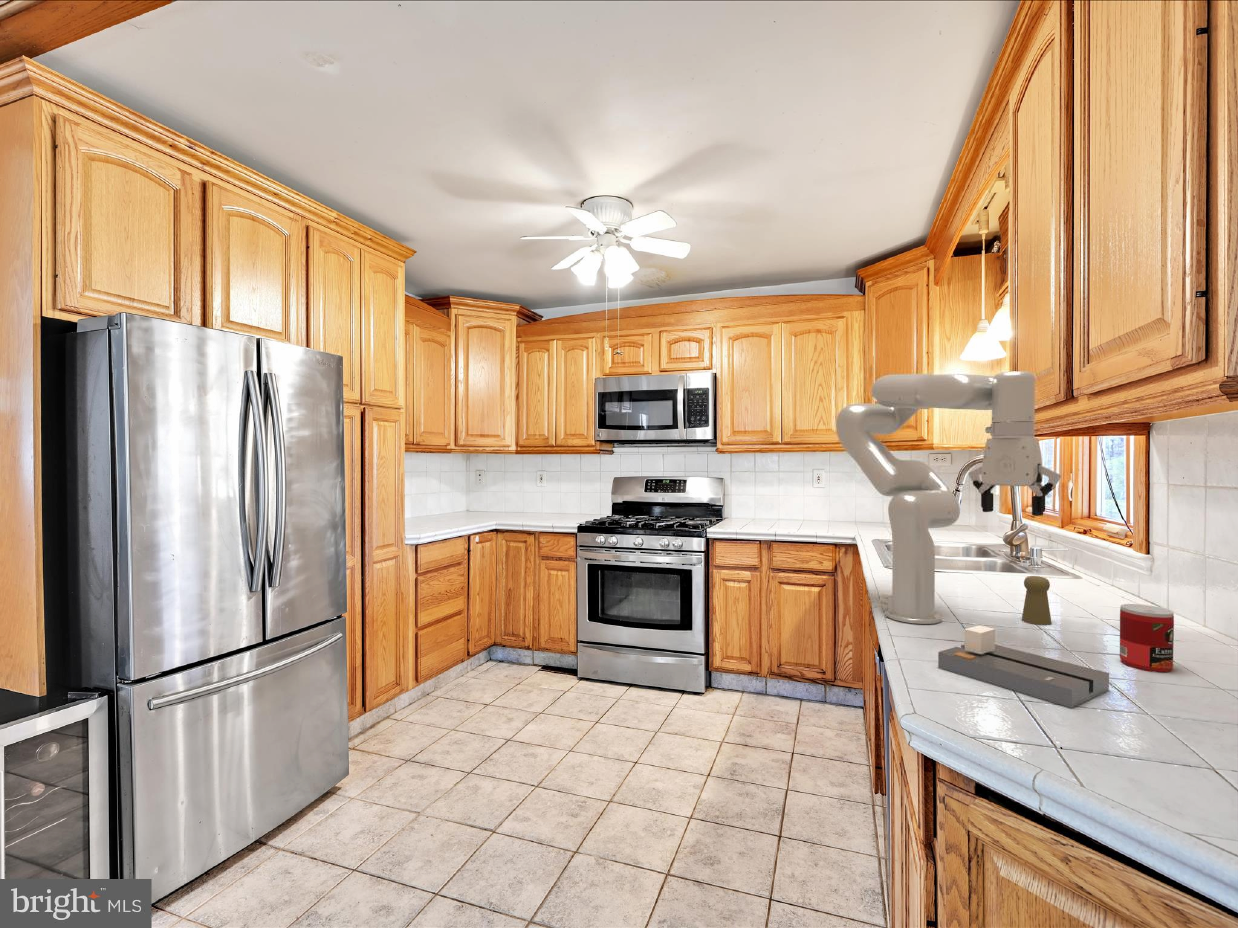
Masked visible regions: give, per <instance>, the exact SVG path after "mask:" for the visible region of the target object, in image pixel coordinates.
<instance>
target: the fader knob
mask: <svg viewBox="0 0 1238 928" xmlns="http://www.w3.org/2000/svg"><path fill="white" fill-rule="evenodd" d="M964 644H965V650H966V651H970V652H974V653H978V654H984V653H987V652H990V651H993V650H995V645H996V629H995V628H993V627H988V626H984V625H976V626H971V627H968V628H965V629H964Z"/></svg>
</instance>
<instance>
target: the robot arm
mask: <svg viewBox="0 0 1238 928" xmlns="http://www.w3.org/2000/svg"><path fill="white" fill-rule="evenodd" d="M870 393H871V396H872V398H873V400H874V401H875V402H876V403H861V402H860V403H854V404H849V405H846V406H844V407H843V408H842V409H841V410H840V411H839V412H838V414H837V417H836V423H835V427H836V428H835V429H836V435H837V438H838V440H839V443H840V445H841V446H842V447H843V449H844V450H845V452H847V454H848V455H849V456H850V457H851V458H852V460H854V461H855V462H856V464H857V465H858V466H859V468H860V469H861V471H862V472H863V474H864V476H866V477H867V479H868V481H870V483H871V484H872V486H873V487H874V489H875V490H876V491H877V492H878V493H879V494H880V495H882V496H884V497H891V499H890V501H889V503H888V505H887V506H888V508H887V511H888V513H887V514H888V519H889V523H890V529H891V531H890V532H891V540H892V541H891V542H892V545H891V546H892V548H891V549H892V551H891V553H892V560H891V561H892V564H891V565H892V566H891V568H892V569H891V570H892V571H891V574H892V575H891V576H892V577H891V578H892V580H891V583H892V585H891V586H892V587H891V588H892V590H891V592H892V593H891V596H890V595H886V594H882V595H881V596H880V598H879V603H880V604H883V605H887V606H888V607H887V608H886V609H885V611H884V612H885V616H886V617H887V618H889V619H891V620H894V621H898V622H902V623H907V624H908V623H909V624H916V625H933V624H938V623H941V622H942V615H941V614H940V613H938V612H937V611H935V610H936V608H935V605H936V603H935V602H936V600H935V598H936V595H935V594H936V593H935V592H936V590H935V588H936V587H935V586H936V585H935V584H936V582H935V581H936V577H935V576H936V575H935V574H936V550H935V548H936V547H935V543H934V540H933V538H932V535H931V533H930V531H929V529H940V528H947V527H950V526H952V525H954V524H955V523H956V522H957V521H958V520H959V518H960V514H961V507H960V503H959V502H958V499H957V498H956V496H955V494H954V493H953V492H952V490H951V489H950V488H949V487H948V486H947V485H946V484H945V482H944V481H943V480H942V479H941V477H940V475H938V474H937V473H936V472H935V470H933V469H932V467H931V466H930V465H929V464H926V463H925V462H924V461H923V462H922V461H920V460H915V459H910V460H909V459H899V458H897V457H896V456H894V454H893V453H892V452H891V451H890V450H889V449H888V447H887V446H886V445H885V444H884V443H883V442H882V441H880V439H879V440H878V438H876V437H874V436H873V435H875V436H876V435H878V436H879V435H881V436H886V435H891V434H894V433H896V432H897V431H899V430H900V429H901V428H902V427H903V426H904V425H905V424H906V423H907V422H908V421H909V420H910V419H911V418H912V417H913V416H915V415H916V413H917V412H919V410H929V409H933V408H934V409H948V410H949V409H950V410H975V411H991V423H990V426H986V427H985V429H984V430H985V433H986V434H990V436H991V438H987V439H986V441H985V446H984V450H983V457H982V465H981V466H980V467H978V468H976V469H974V470H972V471H970V472H969V473H968V476H969V478H970V481H971V482H972V485H973V487H975V488H976V490H978V493H980V507H981V508H982V509H981V510H982V513H992V512H993V511H994V493H993V492H992V490H993V489H995V487H997V486H1002V487H1003V486H1005V487H1008V486H1009V487H1028V488H1029V489H1030V490H1031V492H1032V493H1034V495H1033V496H1032V497H1031V515H1032V516H1034V517H1040V516H1043V515H1044V512H1046V497H1047V496H1048V495H1049V493H1050V492H1052V491H1053V490H1054V489H1055V488H1056V486H1057V484H1058V483H1059V482H1060V479H1061V478H1062V475H1061V474H1060V473H1058V472H1056V471H1054V470H1052V469H1050V468H1047V467H1046V466H1043V459H1042V458H1043V457H1042V450H1041V446H1040V443H1039V437H1035V425H1036V424H1035V422H1036V421H1035V419H1036V418H1035V416H1036V415H1035V414H1036V412H1035V409H1036V407H1035V406H1036V402H1035V401H1036V400H1035V397H1036V394H1035V393H1036V377H1035V375H1034V373H1032V372H1030V371H1026V370H1025V371H1024V370H1017V371H1004V372H999V373H996V374H995V375H981V374H980V375H978V374H958V373H957V374H955V373H954V374H952V373H951V374H950V373H949V374H932V373H905V374H903V373H900V374H886V375H883V376H881V377H878V378H877V379H876V380H875V381H874V383H873V384H872V386H871V392H870ZM980 476H981V478H980ZM1044 476H1046V477H1047V478H1048V480H1047V482H1046V483H1045V484H1044V485H1043V484H1042V482H1043V477H1044Z"/></svg>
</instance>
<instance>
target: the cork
mask: <svg viewBox="0 0 1238 928" xmlns="http://www.w3.org/2000/svg"><path fill="white" fill-rule="evenodd" d="M1023 586H1024V588H1025V589H1026V591H1025V598H1024V602H1023V603H1024V605H1023V609H1022V616H1021V621H1022V622H1023V621H1024V623H1026V624H1031V625H1037V626H1051V625H1052V617H1051V611H1050V610H1051V609H1050V603H1049V596H1048V591H1049V590H1050V587H1051V583H1050V581H1049V579H1047V578H1046V577H1043V576H1039V575H1030V576H1026V577H1025V578H1024V581H1023Z"/></svg>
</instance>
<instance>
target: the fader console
mask: <svg viewBox="0 0 1238 928" xmlns="http://www.w3.org/2000/svg"><path fill="white" fill-rule="evenodd" d="M937 657H938V659H937V665H938V666H937V668H938V669H941V668H942V669H941V670H944V671H948V672H951V673H955V674H958V675H960V676H961V675H962V676H964V677H967V678H971V679H974V680H977V681H981V682H984V683H987V684H991V685H994V686H996V687H1001V688H1004V689H1007V690H1010V691H1014V692H1017V693H1019V694H1023V695H1025V696H1026V695H1027V696H1031V697H1033V698H1037V699H1039V700H1042V701H1043V700H1044V701H1047V702H1050V703H1053V704H1056V705H1060V706H1062V707H1065V708H1069V709H1073V708H1075V707H1077V706H1079V705H1082V704H1084V703H1086V702H1088V701H1090V700H1092V699H1094V698H1095V697H1096V698H1097V697H1098V696H1100V695H1102V694H1105V693H1107V692H1108V691H1110V672H1106V671H1102V670H1100V669H1099V670H1098V669H1094V668H1091V667H1087V666H1082V665H1078V664H1074V663H1070V662H1067V661H1063V660H1059V659H1055V658H1051V657H1047V656H1043V655H1038V654H1034V653H1030V652H1027V651H1022V650H1020V649H1019V650H1018V649H1016V648H1015V649H1014V648H1011V647H1008V646H1007V647H1006V646H1002V645H999V644H995V650H993V651H990V652H987V653H984V654H978V653H974V652H970V651H966V650H965V643H964V644H961V645H960V647H959V646H953V647H951V648H948V649H944V650H940V651H938V655H937Z"/></svg>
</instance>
